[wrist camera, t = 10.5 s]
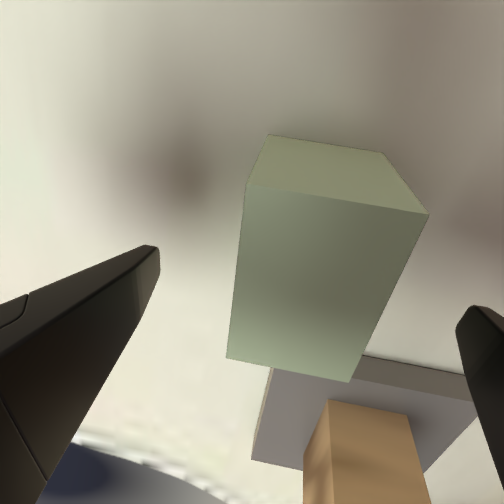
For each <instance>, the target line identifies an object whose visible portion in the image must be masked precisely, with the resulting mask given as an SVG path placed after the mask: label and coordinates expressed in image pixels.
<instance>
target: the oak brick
mask: <svg viewBox="0 0 504 504" xmlns="http://www.w3.org/2000/svg"><path fill="white" fill-rule="evenodd" d="M303 504H431V501H430V497H429V493H428V490H427V486H426V483H425V479H424V475H423V472H422V468H421V465H420V461H419V457H418V454H417V450H416V447H415V443H414V439H413V436H412V432H411V429H410V425H409V422H408V418H407V415H403V414H398V413H393V412H389V411H384V410H379V409H374V408H369V407H364V406H359V405H354V404H349V403H344V402H339V401H334V400H329V399H327V402H326V404H325V406H324V409H323V411H322V413H321V415H320V418H319V420H318V422H317V425H316V427H315V429H314V431H313V434H312V436H311V438H310V441H309V443H308V445H307V447H306V450H305V452H304V454H303Z"/></svg>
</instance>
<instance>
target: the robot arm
mask: <svg viewBox="0 0 504 504" xmlns="http://www.w3.org/2000/svg"><path fill="white" fill-rule="evenodd" d="M159 275H160V252H159V248H158V247H155V246H150V245H142V246H140V247H137V248H135V249H133V250H130V251H128V252H126V253H123V254H121V255H118V256H116V257H114V258H111V259H109V260H106V261H104V262H102V263H99V264H97V265H94V266H92V267H90V268H87V269H85V270H82V271H80V272H78V273H75V274H73V275H70V276H68V277H66V278H63V279H61V280H58V281H56V282H54V283H51V284H49V285H46V286H44V287H42V288H39V289H37V290H34V291H32V292H30V293H29V295H28V294H25V295H22V296H20V297H18V298H15V299H13V300H10V301H8V302H5V303H3V304H0V504H35V503H36V501H37V500H38V498H39V496H40V494H41V493H42V491H43V489H44V487H45V486H46V483H47V482H46V481H48V480H49V478H50V477H51V475H52V473H53V471H54V469H55V468H56V466H57V464H58V463H59V461H60V459H61V457H62V456H63V454H64V452H65V450H66V449H67V447H68V445H69V444H70V442H71V440H72V438H73V437H74V435H75V433H76V431H77V430H78V428H79V426H80V424H81V423H82V421H83V419H84V417H85V416H86V414H87V412H88V411H89V409H90V407H91V405H92V404H93V402H94V400H95V398H96V397H97V395H98V393H99V391H100V390H101V388H102V386H103V384H104V383H105V381H106V379H107V378H108V376H109V374H110V372H111V371H112V369H113V367H114V365H115V364H116V362H117V360H118V358H119V357H120V355H121V353H122V352H123V350H124V348H125V346H126V345H127V343H128V341H129V339H130V338H131V336H132V334H133V332H134V331H135V329H136V327H137V325H138V324H139V322H140V320H141V318H142V316H143V313H144V311H145V309H146V306H147V304H148V302H149V299H150V297H151V295H152V292H153V290H154V288H155V285H156V283H157V281H158V278H159ZM455 333H456V338H457V343H458V347H459V351H460V356H461V360H462V365H463V369H464V373H465V377H466V381H467V385H468V388H469V391H470V394H471V397H472V400H473V403H474V406H475V409H476V412H477V414H478V417H479V420H480V423H481V426H482V429H483V432H484V435H485V438H486V441H487V443H488V446H489V449H490V452H491V455H492V458H493V461H494V464H495V467H496V469H497V472H498V475H499V478H500V481H501V484H502V487H503V490H504V317H502V316H501V315H499V314H498V313H496V312H495V311H493V310H492V309H490V308H488V307H483V306H477V305H472V306H470V307H469V308H468V309H467V311H466V312H465V314H464V315H463V316H462V318H461V319H460V321H459V322H458V324H457V326H456V330H455Z"/></svg>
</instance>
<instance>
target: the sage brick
mask: <svg viewBox="0 0 504 504" xmlns="http://www.w3.org/2000/svg"><path fill="white" fill-rule="evenodd" d="M429 215H430V214H429V213H428V212H427V211H426V209H425V208H424V207H423V205H422V204H421V203H420V201H419V200H418V199H417V197H416V196H415V195H414V193H413V192H412V191H411V190H410V188H409V187H408V186H407V184H406V183H405V182H404V180H403V179H402V178H401V176H400V175H399V174H398V172H397V171H396V170H395V168H394V167H393V166H392V165H391V163H390V162H389V161H388V159H387V158H386V157H385V155H384V154H383V153H380V152H374V151H368V150H361V149H355V148H349V147H343V146H336V145H330V144H324V143H318V142H312V141H305V140H299V139H293V138H287V137H280V136H274V135H268V136H267V138H266V141H265V143H264V145H263V147H262V150H261V152H260V154H259V156H258V158H257V161H256V163H255V165H254V167H253V169H252V172H251V174H250V176H249V178H248V180H247V183H246V189H245V198H244V206H243V215H242V223H241V232H240V241H239V249H238V258H237V266H236V275H235V284H234V292H233V301H232V309H231V318H230V327H229V335H228V344H227V353H226V358H227V359H232V360H237V361H242V362H247V363H252V364H257V365H262V366H267V367H272V368H277V369H282V370H287V371H292V372H297V373H302V374H307V375H312V376H317V377H322V378H327V379H332V380H337V381H342V382H347V383H349V381H350V379H351V377H352V375H353V373H354V371H355V369H356V367H357V365H358V362H359V360H360V358H361V356H362V354H363V352H364V350H365V348H366V346H367V344H368V342H369V340H370V338H371V335H372V333H373V331H374V329H375V327H376V325H377V323H378V321H379V319H380V317H381V315H382V313H383V311H384V308H385V306H386V304H387V302H388V300H389V298H390V296H391V294H392V292H393V290H394V288H395V286H396V284H397V281H398V279H399V277H400V275H401V273H402V271H403V269H404V267H405V265H406V263H407V261H408V259H409V257H410V254H411V252H412V250H413V248H414V246H415V244H416V242H417V240H418V238H419V236H420V234H421V232H422V230H423V227H424V225H425V223H426V221H427V219H428V217H429Z"/></svg>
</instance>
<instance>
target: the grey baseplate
mask: <svg viewBox="0 0 504 504" xmlns="http://www.w3.org/2000/svg"><path fill="white" fill-rule="evenodd" d="M327 399H329V400H334V401H339V402H344V403H349V404H354V405H359V406H364V407H369V408H374V409H379V410H384V411H389V412H393V413H398V414H403V415H407V418H408V422H409V425H410V429H411V432H412V436H413V439H414V443H415V447H416V450H417V454H418V457H419V461H420V465H421V468H422V472H423V473H424V472H425V471H426V470H427V469H428V468H429V467H430V466H431V465H432V464H433V463H434V462H435V461H436V460H437V459H438V457H439V456H440V455H441V454H442V453H443V452H444V451H445V450H446V449H447V448H448V447H449V446H450V445H451V444H452V443H453V442H454V441H455V440H456V438H457V437H458V436H459V435H460V434H461V433H462V432H463V431H464V430H465V429H466V428H467V427H468V426H469V425H470V424H471V423H472V422H473V420H474V419H475V418H476V417H477V416H478V414H477V412H476V409H475V406H474V403H473V400H472V397H471V394H470V391H469V388H468V385H467V381H466V377H465V375H460V374H455V373H450V372H444V371H439V370H434V369H429V368H424V367H419V366H414V365H408V364H403V363H398V362H393V361H388V360H383V359H378V358H373V357H367V356H361V358H360V360H359V362H358V365H357V367H356V369H355V371H354V373H353V375H352V377H351V379H350V381H349V383H347V382H342V381H337V380H332V379H327V378H322V377H317V376H312V375H307V374H302V373H297V372H292V371H287V370H282V369H277V368H272V367H271V369H270V373H269V377H268V381H267V385H266V389H265V393H264V397H263V402H262V406H261V410H260V414H259V418H258V422H257V426H256V430H255V435H254V441H253V448H252V456H251V460H255V461H260V462H264V463H269V464H274V465H278V466H283V467H287V468H292V469H297V470H301V471H303V454H304V452H305V450H306V447H307V445H308V443H309V441H310V438H311V436H312V434H313V431H314V429H315V427H316V425H317V422H318V420H319V418H320V415H321V413H322V411H323V409H324V406H325V404H326V402H327Z"/></svg>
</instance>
